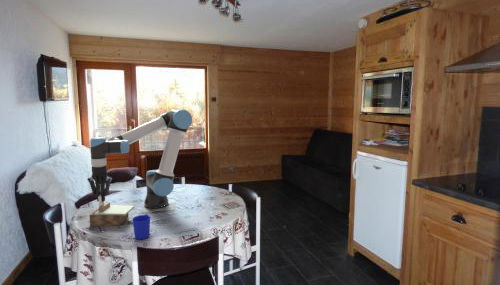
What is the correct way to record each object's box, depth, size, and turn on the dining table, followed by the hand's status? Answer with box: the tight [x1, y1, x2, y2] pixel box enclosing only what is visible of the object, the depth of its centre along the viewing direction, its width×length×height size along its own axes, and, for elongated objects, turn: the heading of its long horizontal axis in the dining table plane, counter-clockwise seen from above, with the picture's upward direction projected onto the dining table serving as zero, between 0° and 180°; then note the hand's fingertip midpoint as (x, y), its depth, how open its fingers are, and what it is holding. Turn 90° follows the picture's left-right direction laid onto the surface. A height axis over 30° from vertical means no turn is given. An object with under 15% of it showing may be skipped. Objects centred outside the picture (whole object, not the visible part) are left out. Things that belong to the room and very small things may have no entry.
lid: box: [94, 201, 135, 215], centre depth 168 cm, size 17×13×3 cm
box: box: [89, 208, 130, 227], centre depth 168 cm, size 16×12×6 cm
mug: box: [132, 213, 151, 240], centre depth 151 cm, size 8×12×10 cm
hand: (101, 206), depth 168 cm, fingers closed
